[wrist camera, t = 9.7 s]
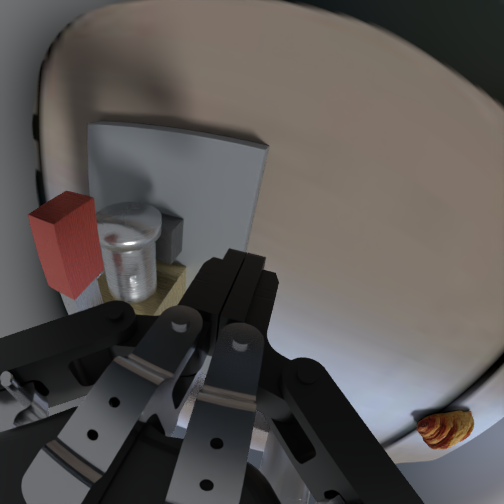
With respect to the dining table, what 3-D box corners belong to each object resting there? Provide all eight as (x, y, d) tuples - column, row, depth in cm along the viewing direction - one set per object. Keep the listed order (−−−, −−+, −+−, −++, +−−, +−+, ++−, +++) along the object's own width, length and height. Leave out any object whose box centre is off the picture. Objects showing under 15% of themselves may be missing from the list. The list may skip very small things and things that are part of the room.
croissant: (476, 403, 35) (495, 421, 27) (448, 438, 36) (464, 458, 28) (426, 392, 33) (450, 418, 25) (391, 435, 34) (408, 463, 26)
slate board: (220, 369, 33) (217, 378, 32) (122, 330, 34) (117, 338, 33) (269, 146, 17) (265, 149, 16) (99, 120, 19) (87, 124, 17)
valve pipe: (184, 346, 29) (158, 398, 23) (139, 328, 30) (109, 374, 24) (191, 203, 19) (134, 260, 13) (125, 188, 20) (61, 232, 14)
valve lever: (129, 357, 19) (113, 384, 16) (104, 345, 19) (87, 369, 17) (96, 198, 11) (56, 225, 9) (64, 190, 11) (25, 213, 9)
